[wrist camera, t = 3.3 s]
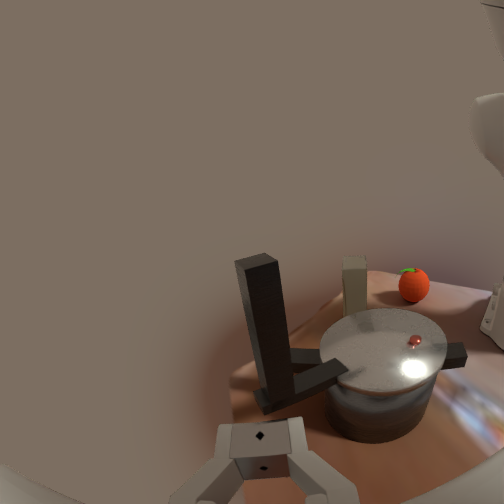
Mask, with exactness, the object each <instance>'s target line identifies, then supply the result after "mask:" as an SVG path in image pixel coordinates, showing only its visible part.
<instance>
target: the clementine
mask: <svg viewBox="0 0 504 504" xmlns="http://www.w3.org/2000/svg"><path fill="white" fill-rule="evenodd" d="M402 271H406V272H404V274H403V275H402V276H401V278H400V280H399V291H400V294H401V295H402V297H403V298H404V299H406V300H407V301H410V302H417V301H420V300H422V299H423V298H424V297H425V296H426V295H427V293H428V291H429V286H430V285H429V279H428V276H427V275H426V273H425V272H423V271H422V270H420V269H416V268H408V269H404V270H402ZM402 271H400V272H402ZM396 276H397V275H396ZM395 278H396V277H395Z"/></svg>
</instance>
